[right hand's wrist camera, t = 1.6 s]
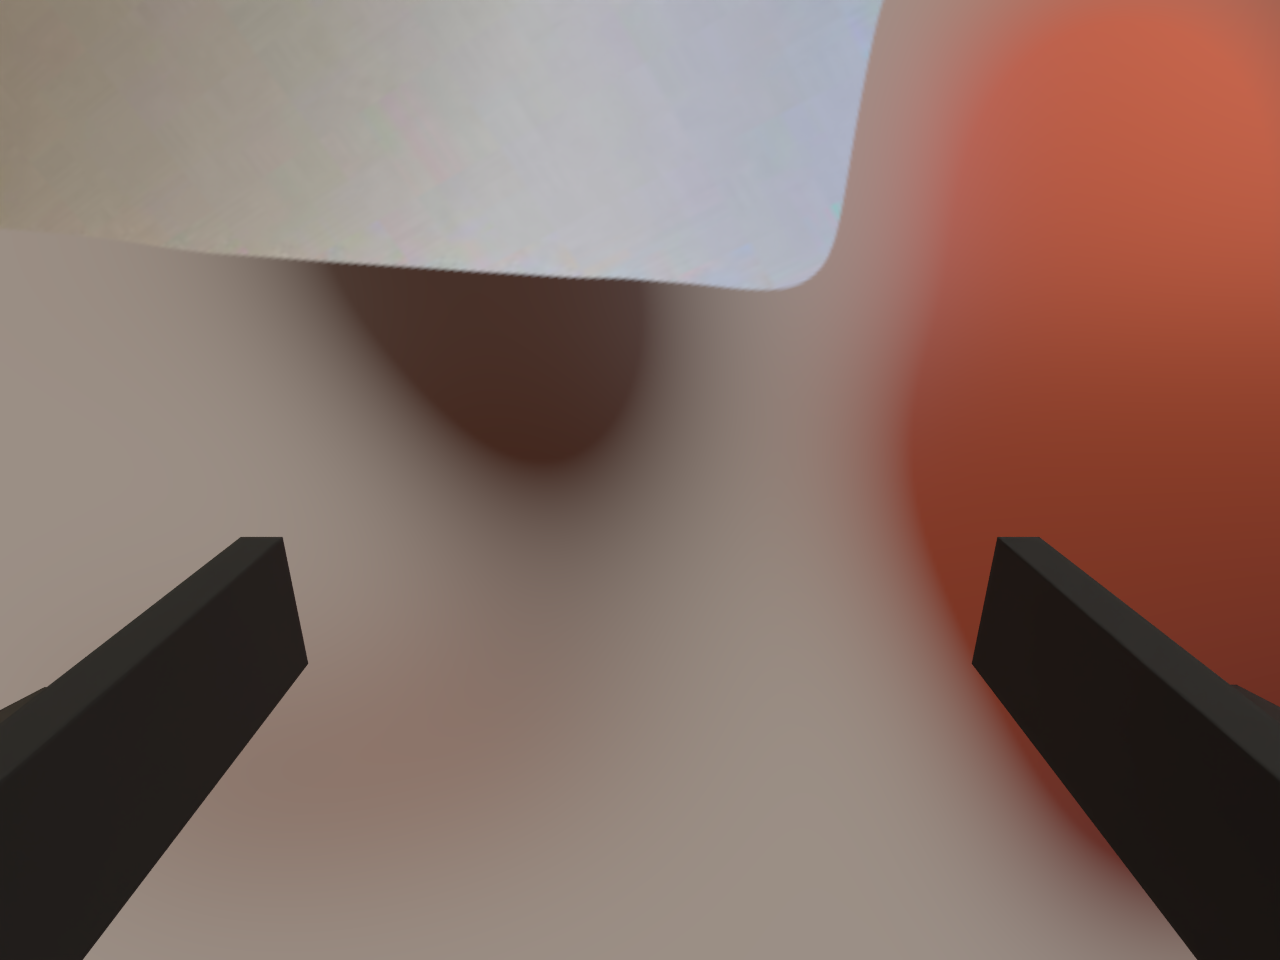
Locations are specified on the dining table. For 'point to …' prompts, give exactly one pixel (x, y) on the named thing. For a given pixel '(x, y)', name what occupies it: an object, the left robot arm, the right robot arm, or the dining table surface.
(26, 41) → the dining table surface
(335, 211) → the dining table surface
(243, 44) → the dining table surface
